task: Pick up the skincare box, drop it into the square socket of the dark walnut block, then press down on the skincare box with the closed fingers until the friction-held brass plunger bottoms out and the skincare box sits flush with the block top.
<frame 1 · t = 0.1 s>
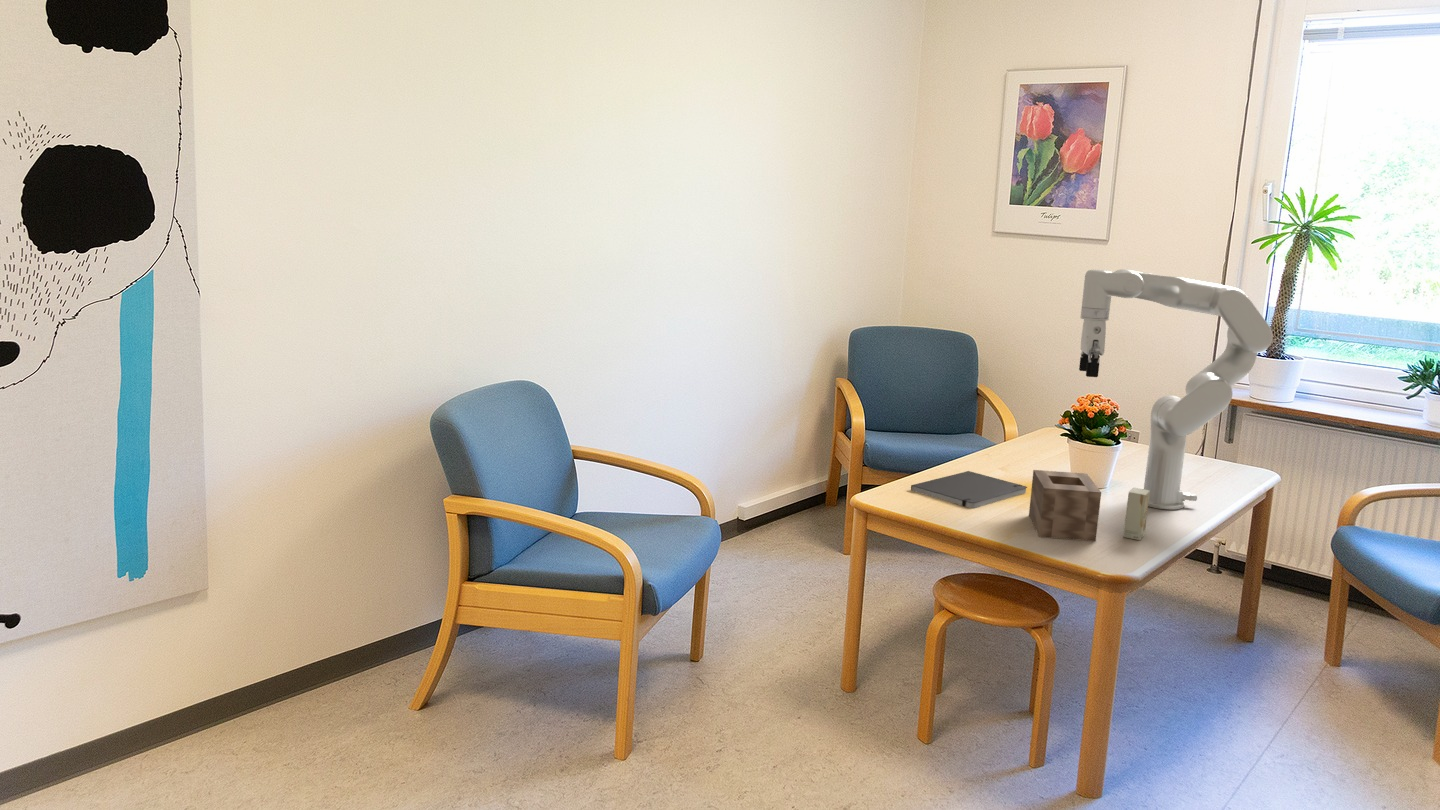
hand: (1088, 373, 293), 37 cm above the table, tool pointing down, fingers open, 9 cm apart
plunger: (1064, 497, 270), point 8 cm above the table, slide at 0.0 cm
notebook: (969, 493, 303), on the table
skincare box: (1133, 536, 268), on the table
socket block: (1061, 528, 272), on the table
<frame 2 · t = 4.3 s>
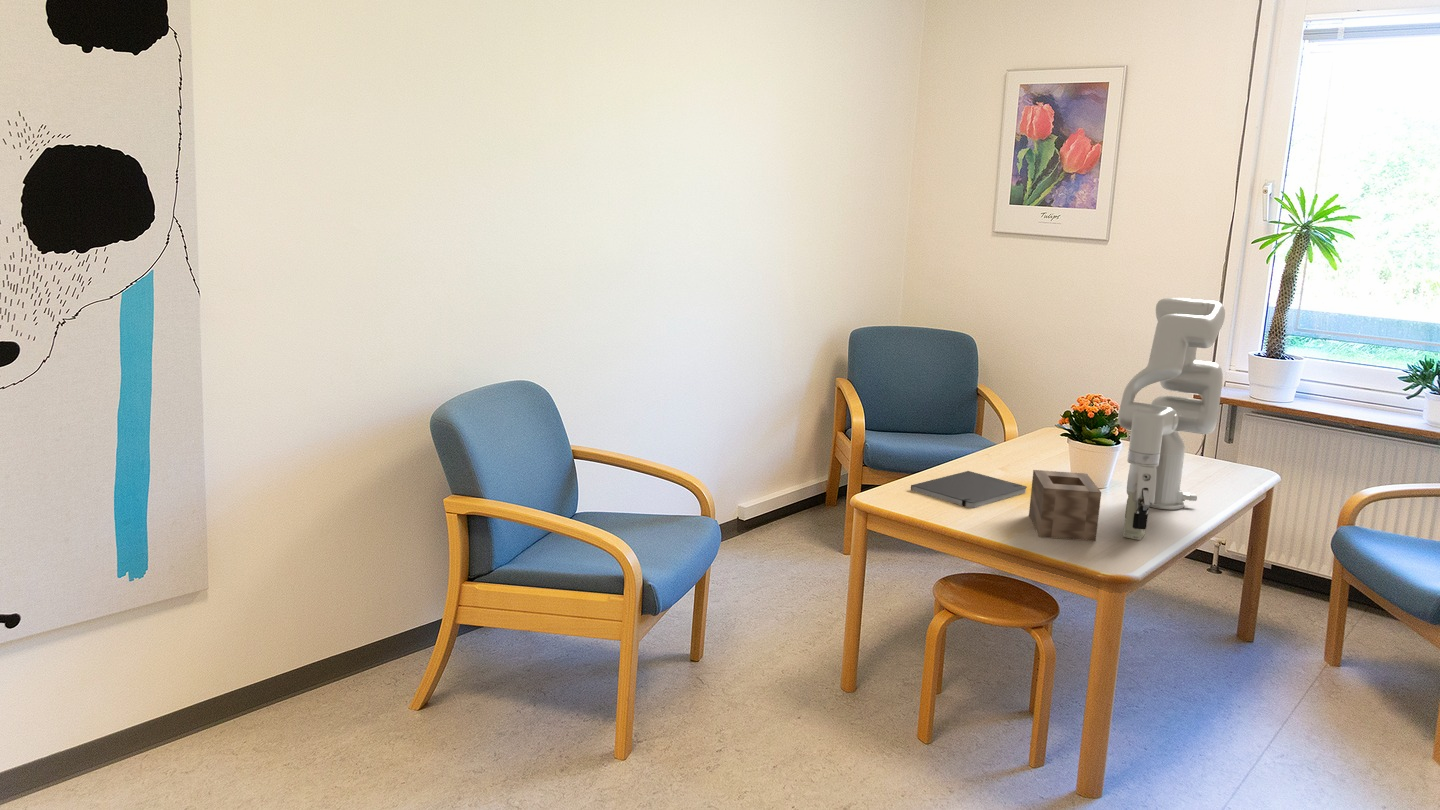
hand: (1135, 523, 267), 3 cm above the table, tool pointing down, fingers closed on skincare box, 7 cm apart
skincare box: (1133, 536, 268), on the table, touching gripper
everything else where it was.
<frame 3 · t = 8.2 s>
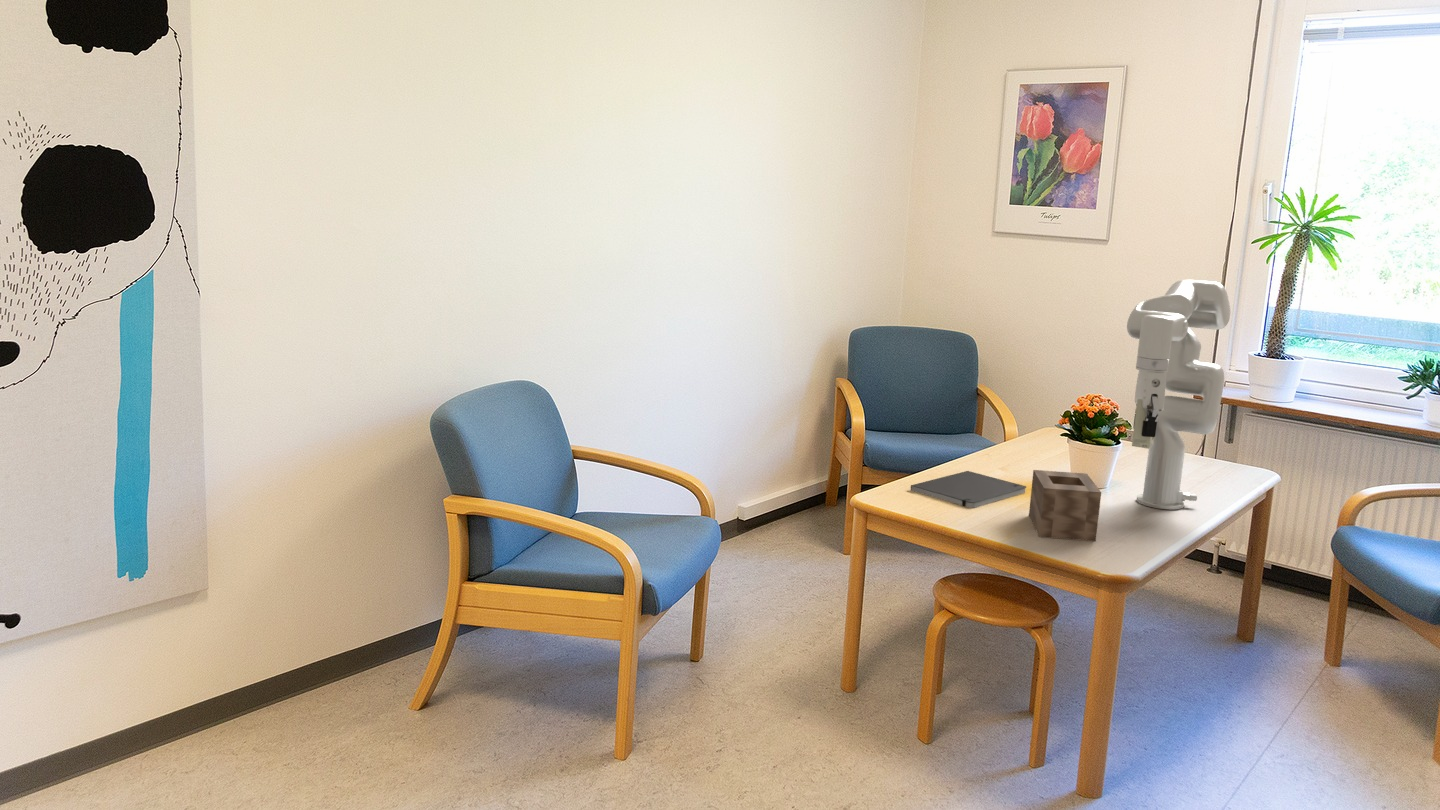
hand: (1144, 432, 262), 28 cm above the table, tool pointing down, fingers closed on skincare box, 7 cm apart
skincare box: (1142, 446, 263), point 24 cm above the table, touching gripper
everything else where it was.
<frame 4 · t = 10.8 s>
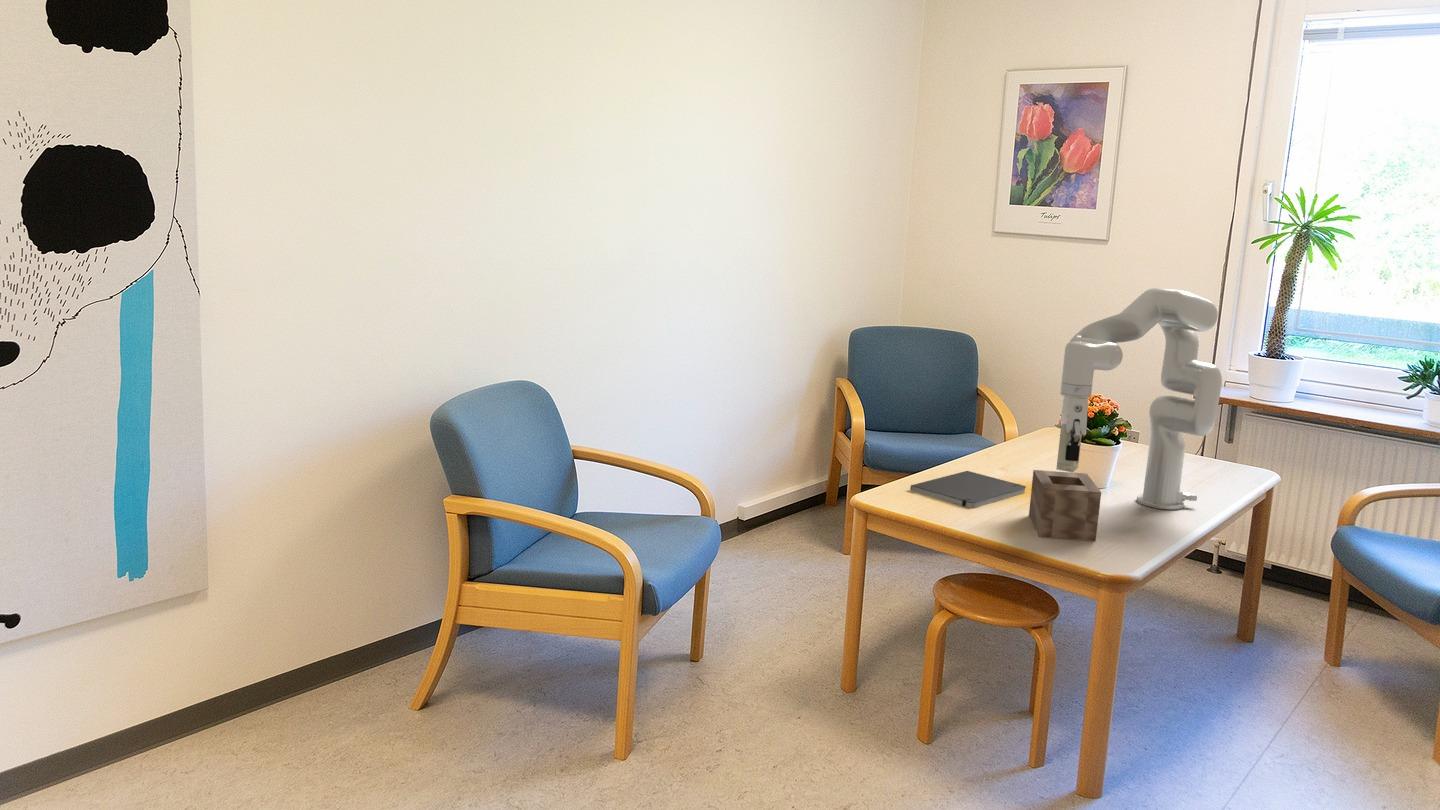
hand: (1068, 456, 268), 20 cm above the table, tool pointing down, fingers closed on skincare box, 7 cm apart
skincare box: (1067, 469, 269), point 16 cm above the table, touching gripper
everything else where it was.
when the fingers open (14 cm above the table, at t = 12.4 s): skincare box drops 10 cm, resting on plunger, socket block.
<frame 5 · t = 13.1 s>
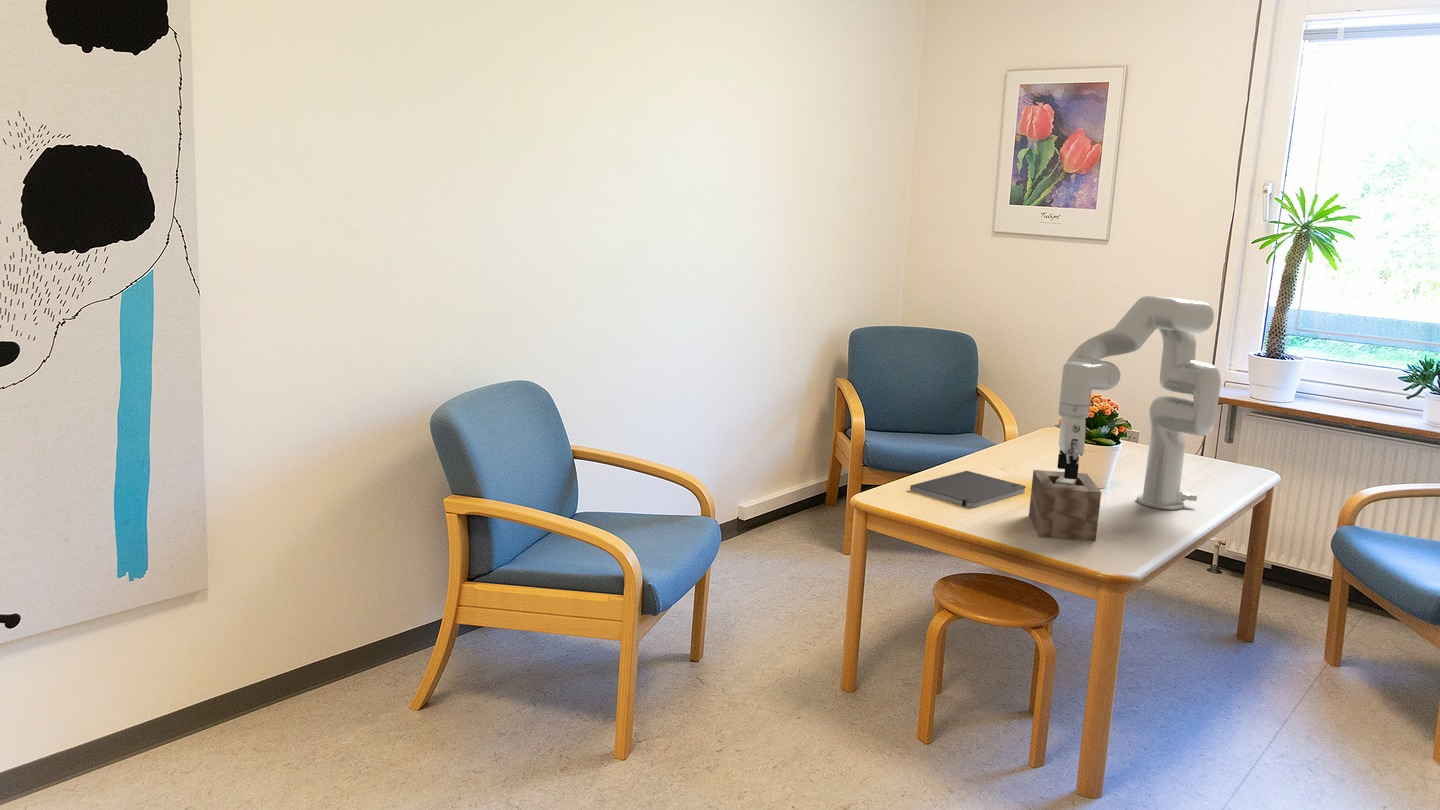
hand: (1066, 473, 269), 15 cm above the table, tool pointing down, fingers open, 9 cm apart
plunger: (1061, 526, 272), resting in socket block, slide at 8.1 cm, touching skincare box
skincare box: (1061, 524, 272), point 1 cm above the table, touching plunger, socket block
everything else where it was.
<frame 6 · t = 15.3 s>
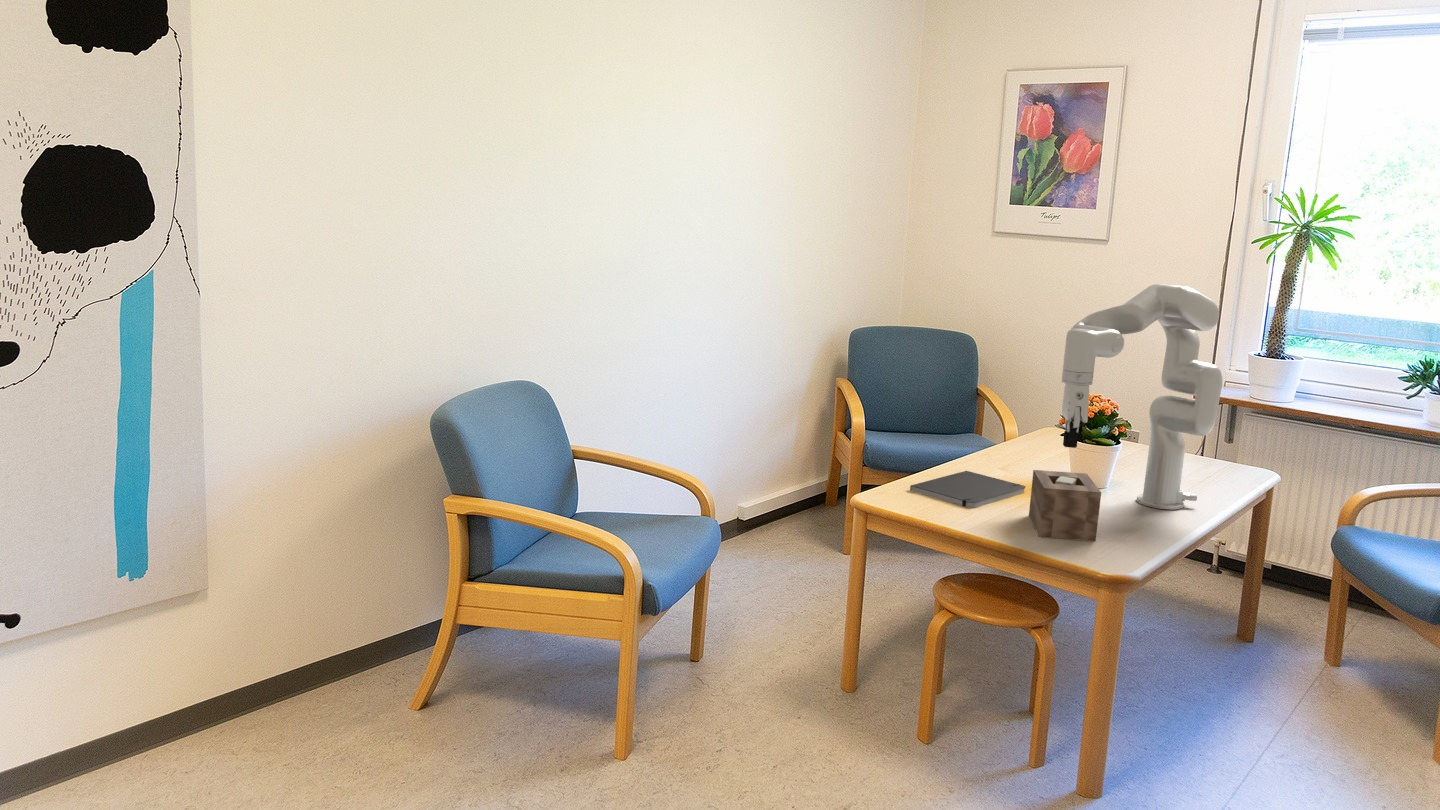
hand: (1069, 446, 267), 22 cm above the table, tool pointing down, fingers closed
nothing on the table moved.
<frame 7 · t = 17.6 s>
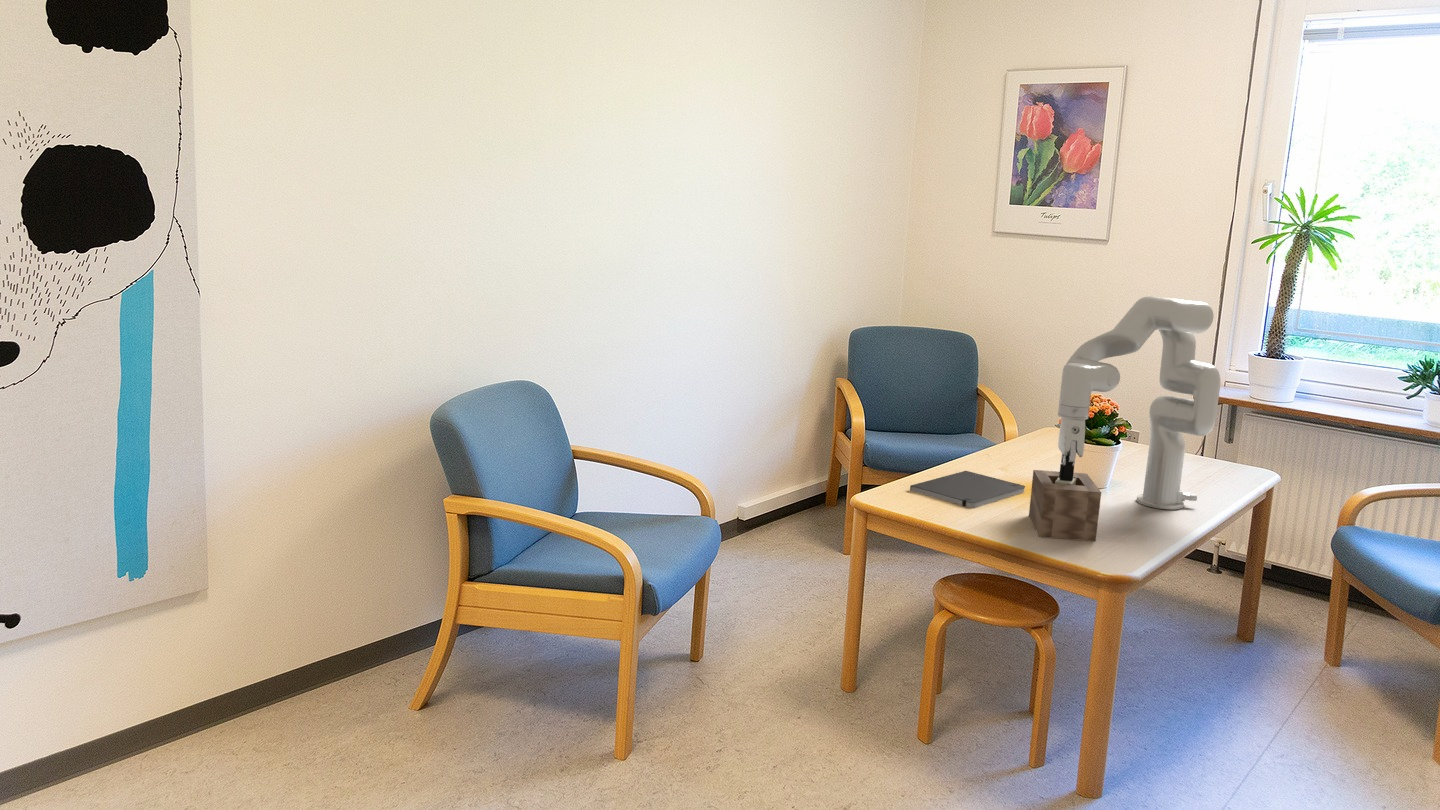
hand: (1065, 479, 269), 13 cm above the table, tool pointing down, fingers closed
skincare box: (1061, 524, 272), point 1 cm above the table, touching gripper, plunger
everything else where it was.
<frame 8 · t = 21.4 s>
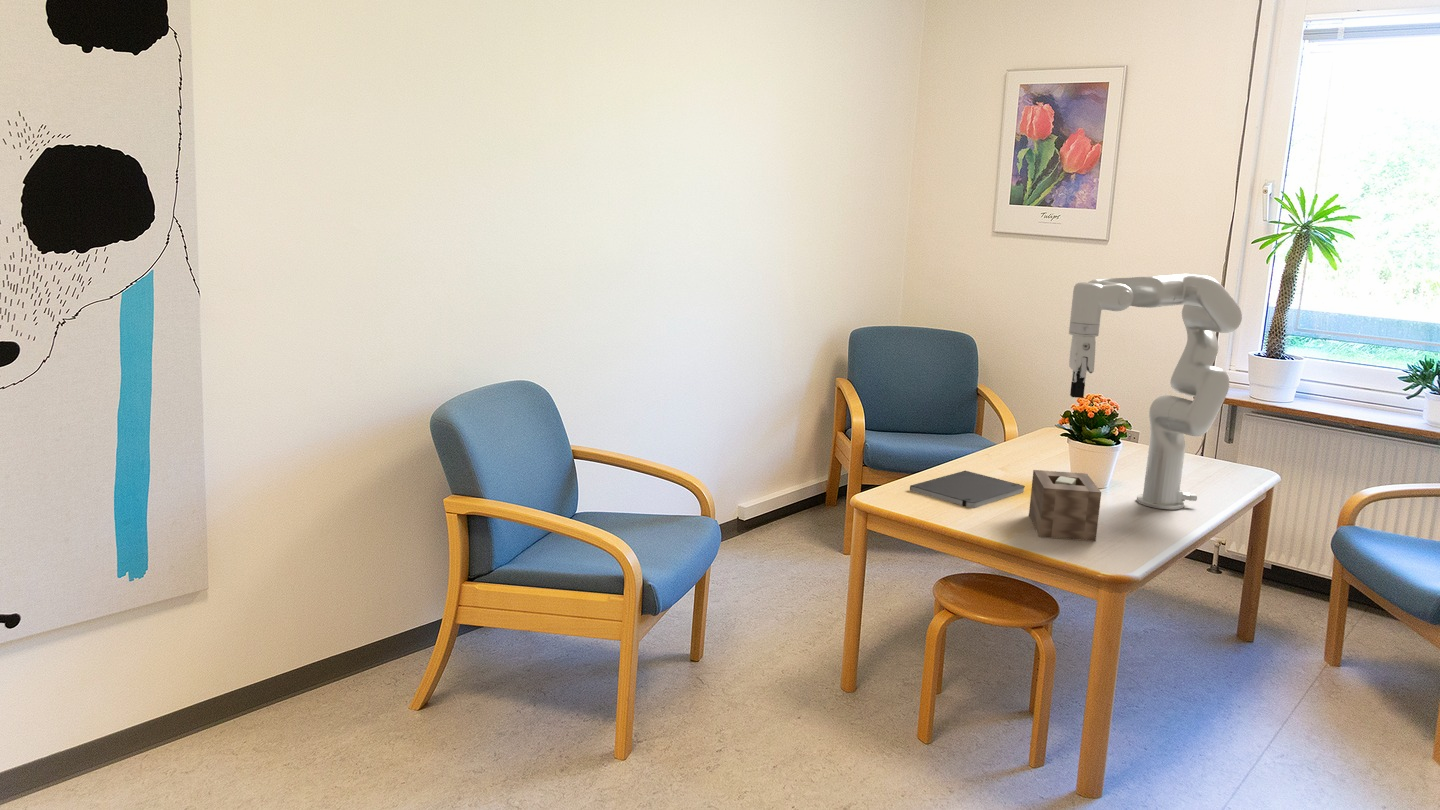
hand: (1076, 396, 277), 33 cm above the table, tool pointing down, fingers closed
skincare box: (1061, 524, 272), point 1 cm above the table, touching plunger, socket block
everything else where it was.
at the end: skincare box 0.5 cm off-centre on the socket block, point 0.8 cm above the socket block's base; plunger slide at 8.1 cm; the gripper is holding nothing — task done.
